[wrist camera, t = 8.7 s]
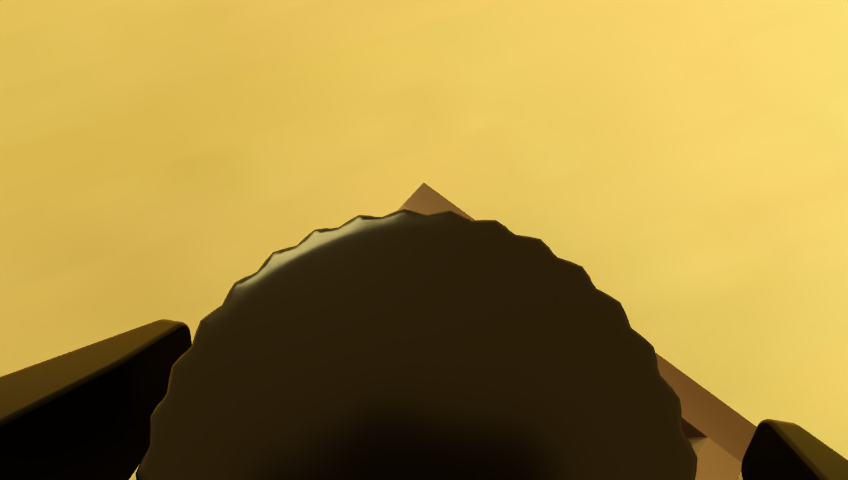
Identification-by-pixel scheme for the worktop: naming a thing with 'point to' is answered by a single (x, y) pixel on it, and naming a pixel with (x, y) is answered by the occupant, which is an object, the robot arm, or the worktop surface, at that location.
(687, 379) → the walnut tray
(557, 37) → the worktop surface
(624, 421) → the supplement bottle
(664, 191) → the worktop surface
